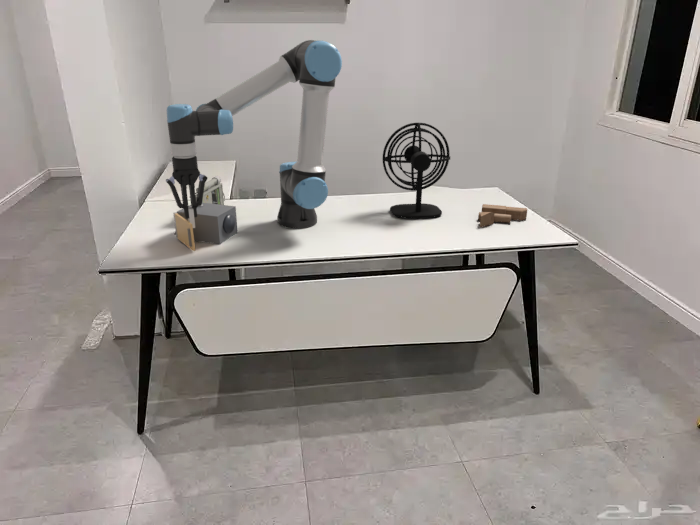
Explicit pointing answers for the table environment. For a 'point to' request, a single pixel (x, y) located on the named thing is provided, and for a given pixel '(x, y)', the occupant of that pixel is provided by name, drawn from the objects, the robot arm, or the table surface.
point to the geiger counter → (213, 192)
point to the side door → (184, 231)
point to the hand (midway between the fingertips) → (192, 226)
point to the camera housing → (214, 223)
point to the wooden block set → (500, 214)
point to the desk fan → (419, 163)
